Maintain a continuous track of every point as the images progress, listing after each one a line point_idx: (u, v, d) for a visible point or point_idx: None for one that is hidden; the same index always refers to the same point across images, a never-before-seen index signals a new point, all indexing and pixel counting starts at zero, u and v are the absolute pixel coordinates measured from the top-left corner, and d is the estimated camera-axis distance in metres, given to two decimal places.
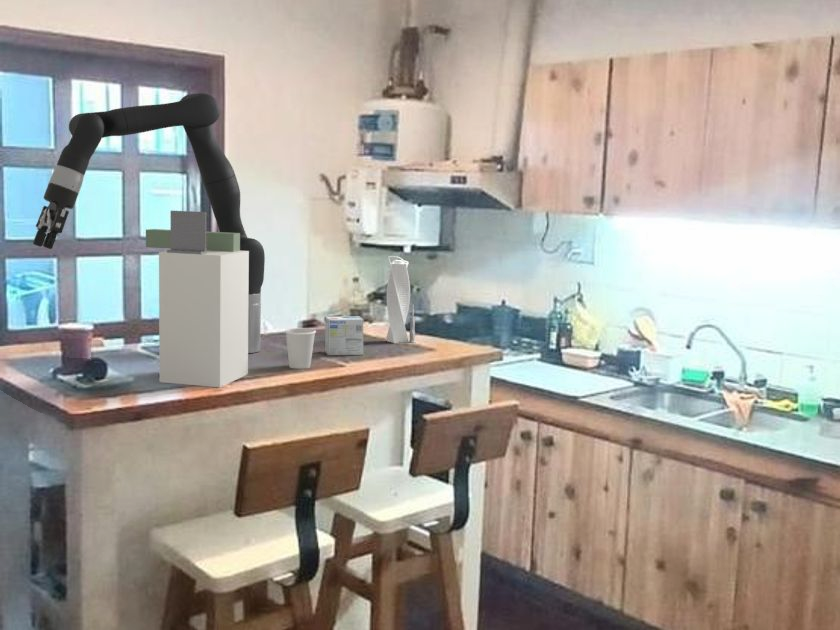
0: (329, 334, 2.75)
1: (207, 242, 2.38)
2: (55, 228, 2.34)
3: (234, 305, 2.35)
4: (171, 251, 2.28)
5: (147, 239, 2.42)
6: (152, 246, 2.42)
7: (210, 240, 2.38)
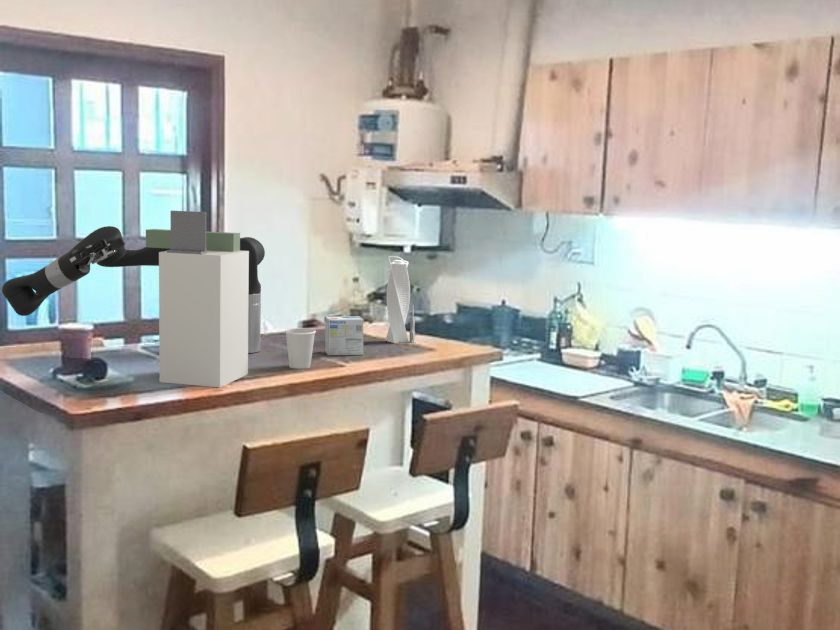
0: (329, 334, 2.75)
1: (207, 242, 2.38)
2: (85, 254, 2.44)
3: (234, 305, 2.35)
4: (171, 251, 2.28)
5: (147, 239, 2.42)
6: (152, 246, 2.42)
7: (210, 240, 2.38)
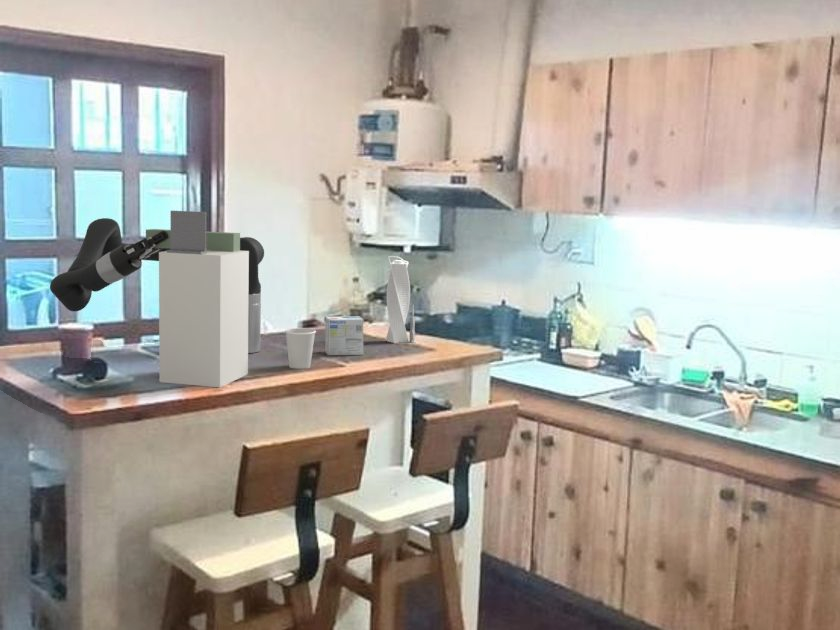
0: (329, 334, 2.75)
1: (207, 242, 2.38)
2: (146, 245, 2.39)
3: (234, 305, 2.35)
4: (171, 251, 2.28)
5: None
6: None
7: (210, 240, 2.38)
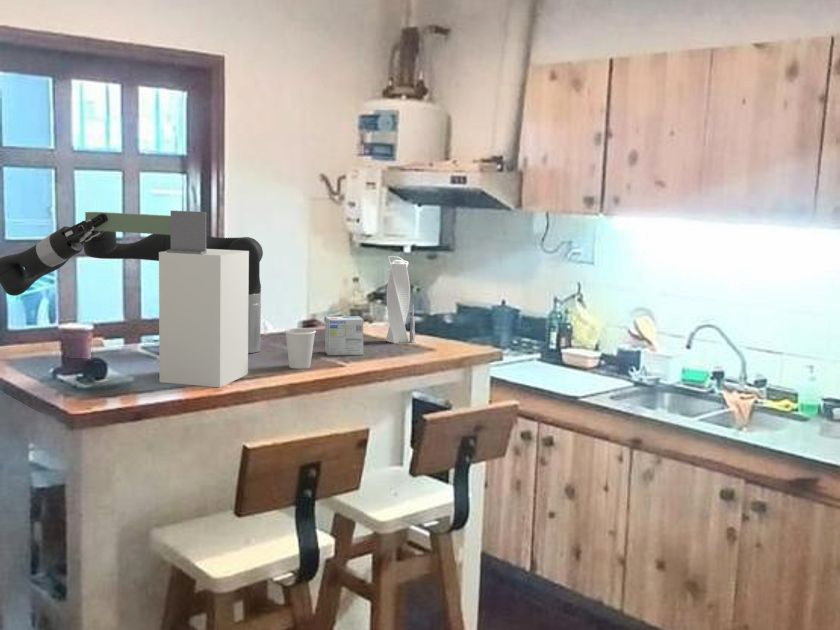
0: (329, 334, 2.75)
1: (146, 225, 2.35)
2: (84, 228, 2.36)
3: (234, 305, 2.35)
4: (171, 251, 2.28)
5: None
6: None
7: (149, 223, 2.35)
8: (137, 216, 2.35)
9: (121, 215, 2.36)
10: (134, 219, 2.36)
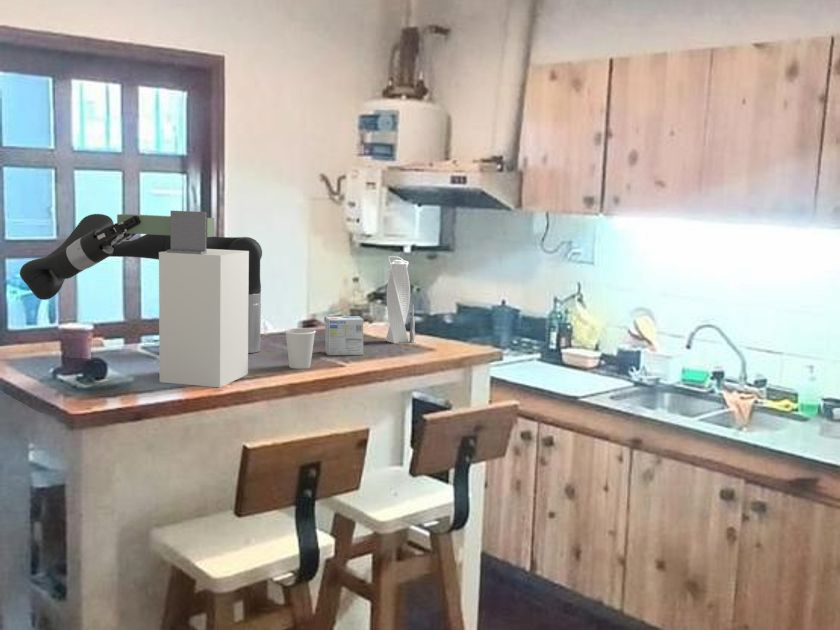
0: (329, 334, 2.75)
1: None
2: (117, 230, 2.31)
3: (234, 305, 2.35)
4: (171, 251, 2.28)
5: None
6: None
7: None
8: None
9: (154, 217, 2.32)
10: (168, 221, 2.31)
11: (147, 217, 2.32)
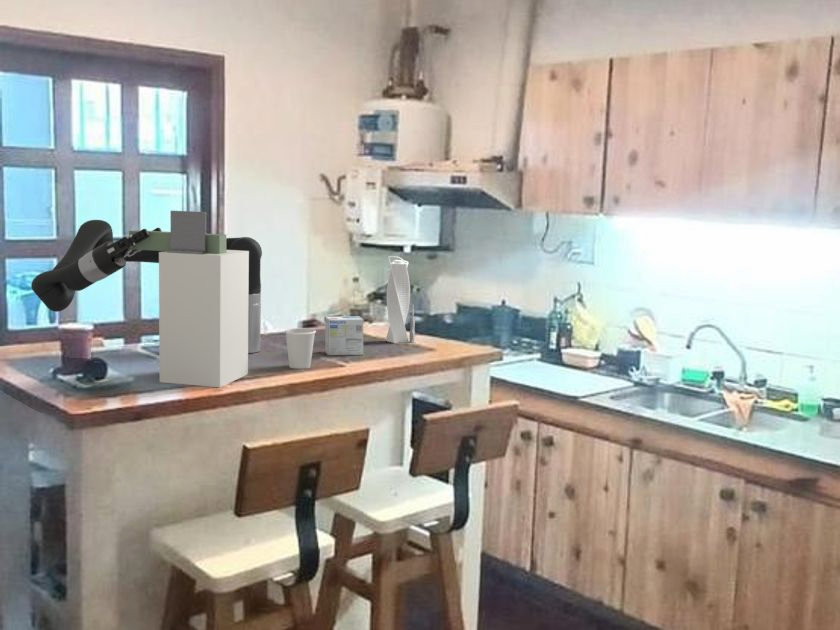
0: (329, 334, 2.75)
1: None
2: (125, 244, 2.30)
3: (234, 305, 2.35)
4: (171, 251, 2.28)
5: None
6: (136, 248, 2.34)
7: None
8: None
9: (166, 234, 2.32)
10: None
11: (159, 234, 2.32)
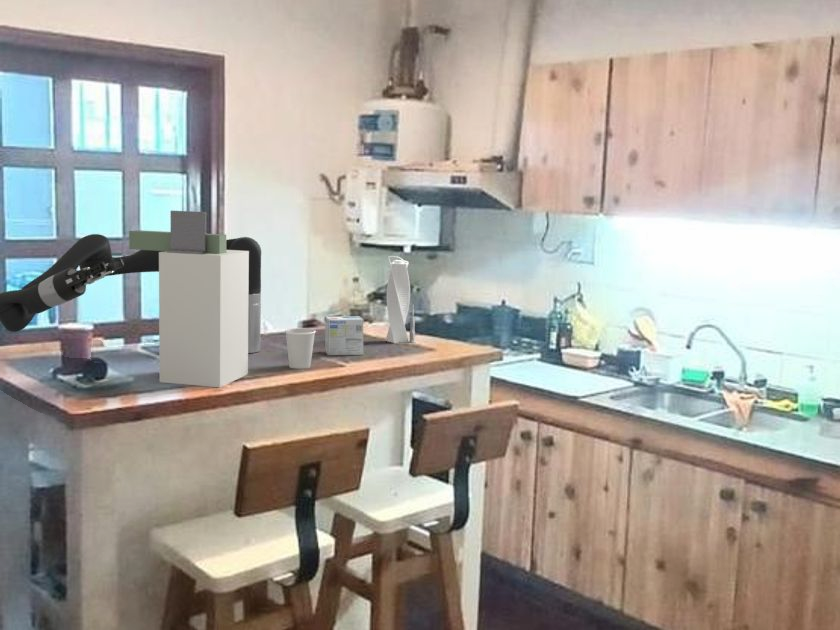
0: (329, 334, 2.75)
1: None
2: (82, 276, 2.32)
3: (234, 305, 2.35)
4: (171, 251, 2.28)
5: (130, 241, 2.34)
6: (136, 248, 2.34)
7: None
8: None
9: (166, 234, 2.32)
10: None
11: (159, 234, 2.32)
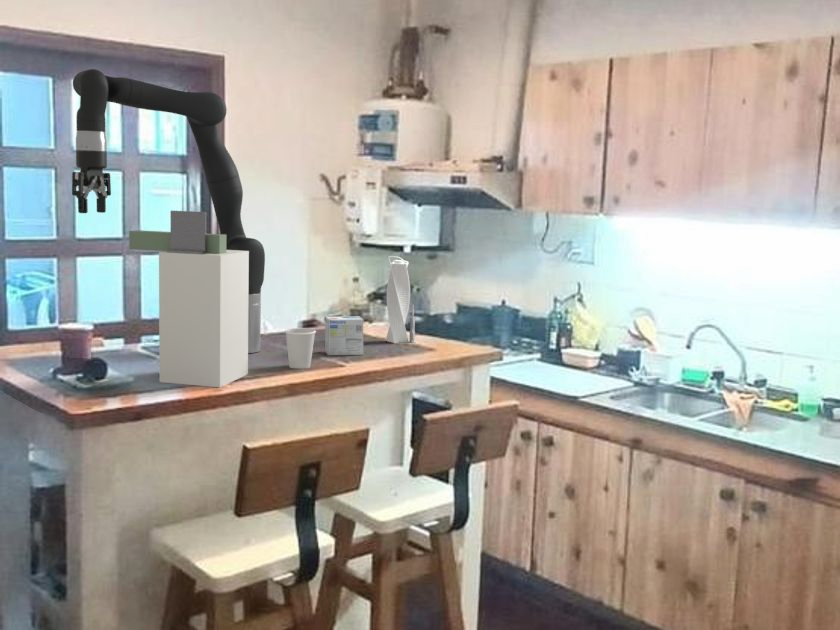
0: (329, 334, 2.75)
1: None
2: (74, 192, 2.39)
3: (234, 305, 2.35)
4: (171, 251, 2.28)
5: (130, 241, 2.34)
6: (136, 248, 2.34)
7: None
8: None
9: (166, 234, 2.32)
10: None
11: (159, 234, 2.32)
